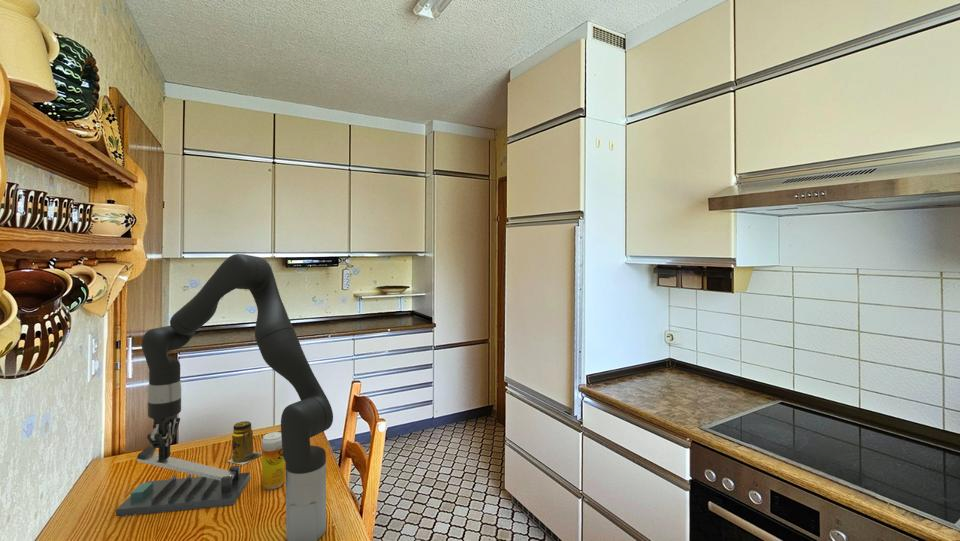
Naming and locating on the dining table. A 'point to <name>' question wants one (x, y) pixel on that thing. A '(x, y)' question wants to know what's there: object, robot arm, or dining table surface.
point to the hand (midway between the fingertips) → (164, 458)
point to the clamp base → (184, 494)
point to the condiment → (242, 443)
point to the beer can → (272, 461)
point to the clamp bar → (182, 465)
